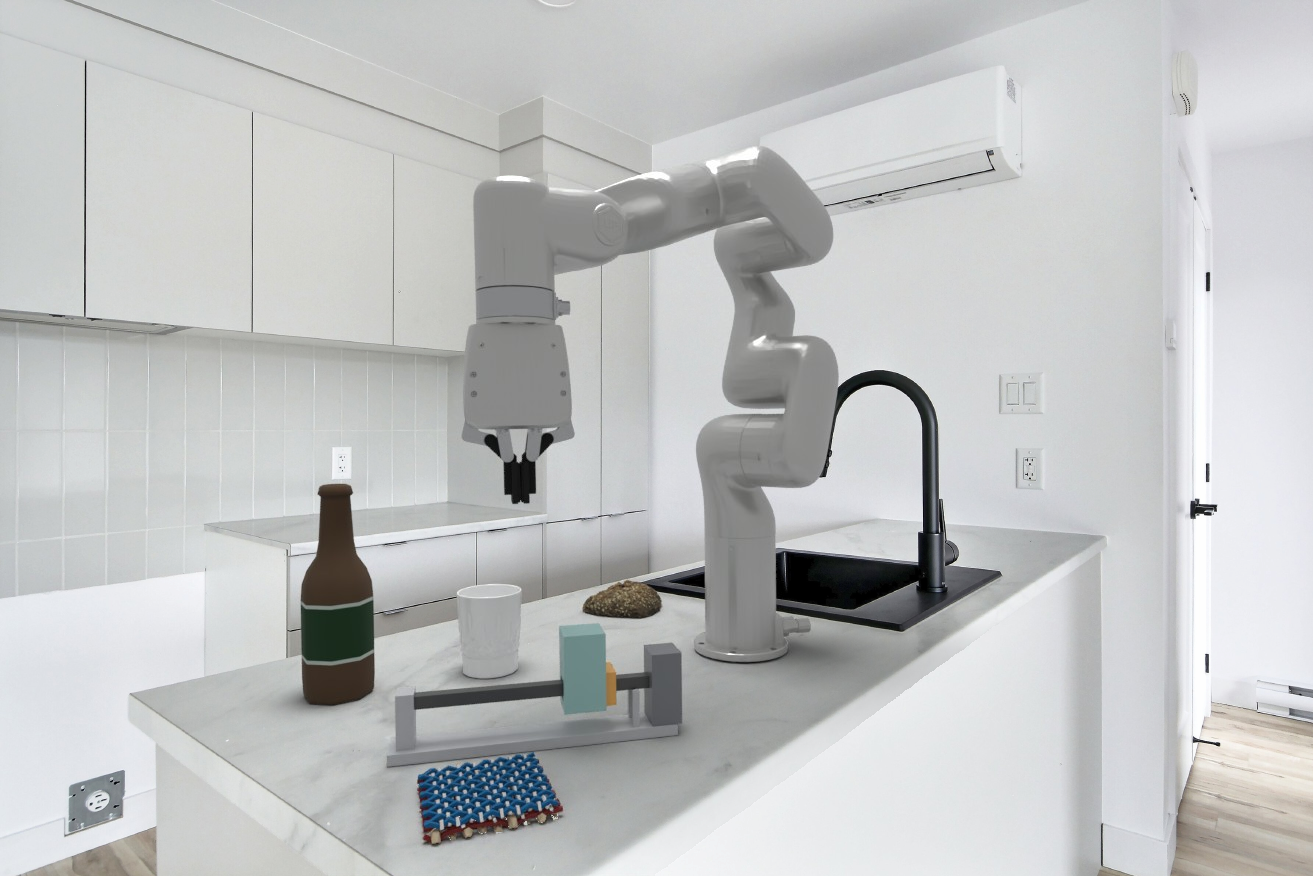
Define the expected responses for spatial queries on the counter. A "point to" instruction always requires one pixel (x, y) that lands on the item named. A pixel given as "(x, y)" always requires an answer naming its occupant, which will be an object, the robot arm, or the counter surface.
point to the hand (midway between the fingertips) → (520, 501)
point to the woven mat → (484, 796)
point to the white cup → (489, 629)
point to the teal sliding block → (583, 668)
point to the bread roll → (624, 601)
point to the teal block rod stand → (654, 722)
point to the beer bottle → (337, 609)
